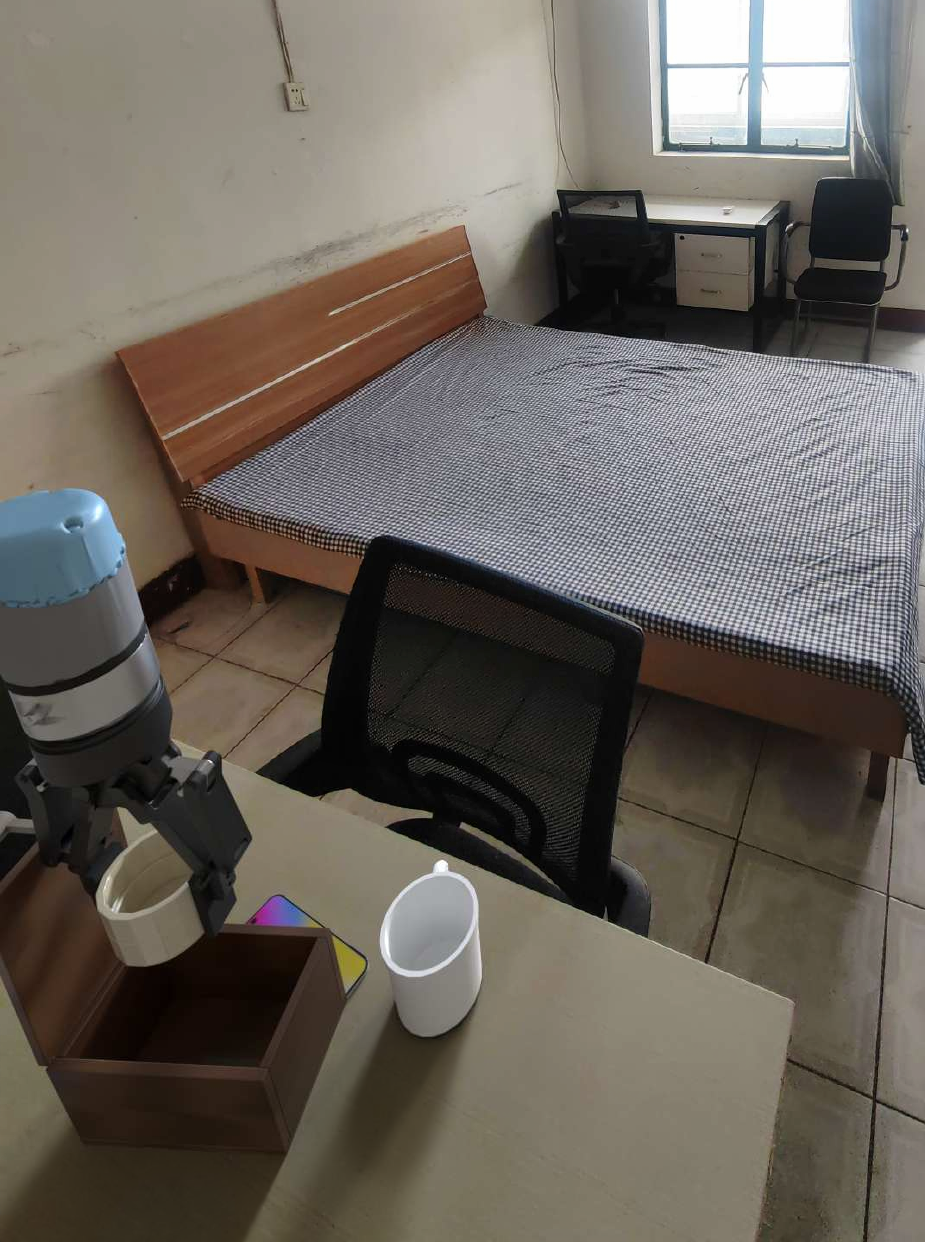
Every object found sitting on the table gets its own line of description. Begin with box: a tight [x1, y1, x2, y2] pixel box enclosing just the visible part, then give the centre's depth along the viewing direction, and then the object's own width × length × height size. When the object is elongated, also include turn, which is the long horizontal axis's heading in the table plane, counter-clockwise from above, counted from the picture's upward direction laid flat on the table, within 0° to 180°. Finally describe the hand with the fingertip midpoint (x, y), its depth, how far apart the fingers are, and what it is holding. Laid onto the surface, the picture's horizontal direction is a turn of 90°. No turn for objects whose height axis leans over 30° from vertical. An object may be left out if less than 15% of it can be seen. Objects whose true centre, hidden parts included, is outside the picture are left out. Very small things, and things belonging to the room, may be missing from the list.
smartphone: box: [244, 893, 370, 1000], centre depth 70 cm, size 7×1×15 cm
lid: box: [0, 807, 129, 1068], centre depth 56 cm, size 18×11×8 cm
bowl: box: [96, 828, 204, 967], centre depth 54 cm, size 7×7×6 cm
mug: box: [379, 860, 483, 1040], centre depth 67 cm, size 11×9×10 cm
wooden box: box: [45, 922, 348, 1156], centre depth 60 cm, size 18×11×11 cm, turn 88°
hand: (172, 915), depth 55 cm, fingers closed on bowl, 7 cm apart
